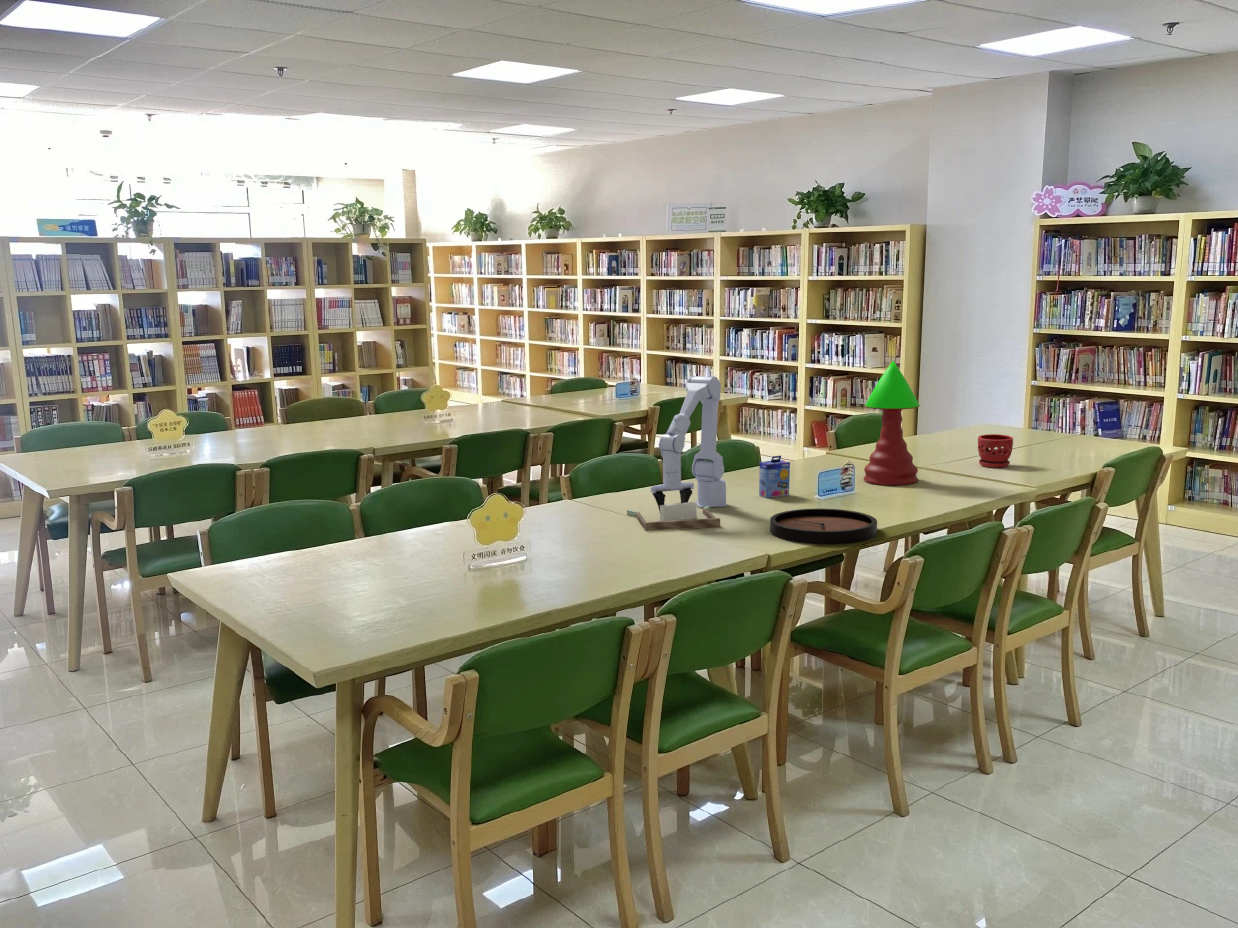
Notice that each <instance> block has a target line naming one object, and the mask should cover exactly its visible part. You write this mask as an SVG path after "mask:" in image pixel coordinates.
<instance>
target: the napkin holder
mask: <svg viewBox="0 0 1238 928" xmlns="http://www.w3.org/2000/svg"><path fill="white" fill-rule="evenodd" d="M697 508H698V506H697V505H696V503H695V501H690V502H689V501H688V503H681V502H676V503H668V504H664V505H660V512H659V521H674V520H692V519H698V518H697V517H698V515H697Z"/></svg>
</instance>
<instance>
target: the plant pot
mask: <svg viewBox="0 0 1238 928" xmlns="http://www.w3.org/2000/svg"><path fill="white" fill-rule="evenodd" d="M1013 447H1014V437H1012V436H1011V435H1007V434H1000V433H999V434H998V433H996V434H993V433H989V434H981V435H979V436H978V437H977V451H978V454H979V455H978V456H979V457H980V459H979V460H978V463H979V464H980V465H981V467H982V466H983V467H986V468H993V469H997V468H998V469H1001V468H1005V467H1008V466H1009V465H1010V464H1011V462H1010V460H1009V459H1010V458H1011V456H1012V452H1013ZM996 448H997V449H996Z"/></svg>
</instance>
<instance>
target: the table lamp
mask: <svg viewBox="0 0 1238 928" xmlns="http://www.w3.org/2000/svg"><path fill="white" fill-rule="evenodd" d="M919 407H920V402H919V401H918V399H917V398H916V396H915V394H914V392H913V391H912V388H911V387H910V385H909V383H908V380H907V379H906V377H905V376H904V375H903V373H902V372H901V370H900V368H899V367H898V366H897V364H896V362H895V361H894V360H892V361H891V362H890V364H889V365H888V366H887V368H886V370H885V371H884V372H883V373H882V375H881V377H880V378H879V380H878V381H877V384H876V385H875V387H874V388H873V390H872V392H871V394H870V395H869V397H868V399H867V400H866V403H865V404H864V408H867V409H872V410H873V409H874V410H881V411H882V414H881V415H882V416H881V419H880V420H881V424H882V427H881V429H880V431H879V432H880V437H879V439H878V440H877V441H876V443H875V449H874V451H873V452H872V453H871V454H870V455H869V462H868V463H867V465H865V466H864V468H863V471H864V473H865V475H864V477H863V481H865V483H869V484H874V485H880V486H883V485H884V486H905V485H906V486H907V485H912V484H915V483H918V481H919V478H918V477H917V474H918V471H919V470H918V468H917V467H918V466H916V464H914V462H913V460H914V457H913V456H912V454H911V453H910V452H909V450H908V444H907V442H906V441H905V439H904V437H903V436H904V431H903V428H902V422H903V415H902V412H903V410H912V409H917V408H919Z"/></svg>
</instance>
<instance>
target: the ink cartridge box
mask: <svg viewBox="0 0 1238 928" xmlns="http://www.w3.org/2000/svg"><path fill="white" fill-rule="evenodd" d="M781 458H782V455H774V456H772V457H771V460H765V461H759V471H758V472H759V475H758V476H759V478H758V479H759V490H758V491H759V492H758V493H759V494H758V495H759V496H760V497H763V498H765V499H769V498H771V499H772V498H778V497H786V496H787V497H788V496H790V473H791V462H790V461H788V460H783V459H781Z"/></svg>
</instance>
